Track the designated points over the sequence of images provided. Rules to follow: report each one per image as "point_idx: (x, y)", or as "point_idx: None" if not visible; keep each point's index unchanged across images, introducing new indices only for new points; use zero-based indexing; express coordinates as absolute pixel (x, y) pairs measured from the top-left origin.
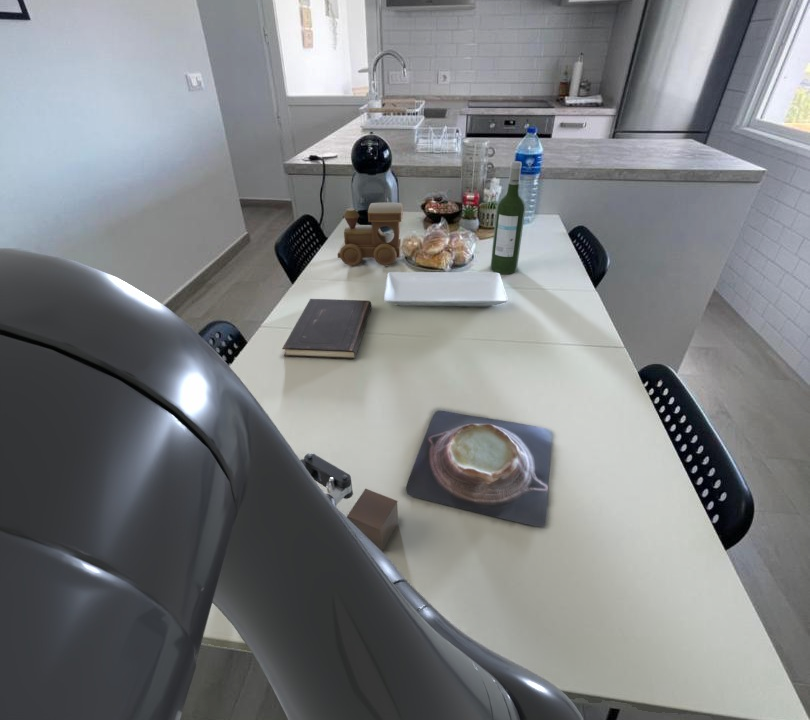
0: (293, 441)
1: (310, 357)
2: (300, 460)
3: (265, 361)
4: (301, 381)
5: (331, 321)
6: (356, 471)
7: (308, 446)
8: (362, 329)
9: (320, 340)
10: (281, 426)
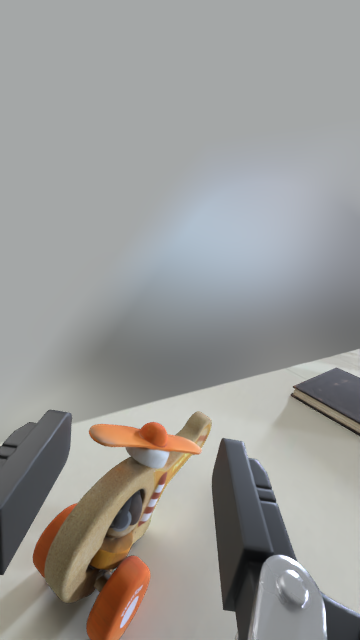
0: None
1: (318, 411)
2: (332, 604)
3: (270, 389)
4: (299, 425)
5: (355, 393)
6: None
7: None
8: None
9: (337, 401)
10: (255, 454)
